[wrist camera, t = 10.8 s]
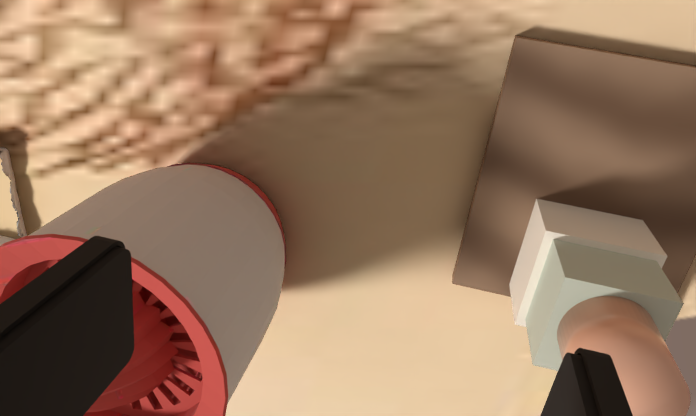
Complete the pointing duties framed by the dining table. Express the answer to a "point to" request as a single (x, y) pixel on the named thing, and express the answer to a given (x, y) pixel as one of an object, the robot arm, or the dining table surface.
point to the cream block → (578, 229)
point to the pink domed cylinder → (628, 352)
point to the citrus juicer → (175, 281)
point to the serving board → (584, 153)
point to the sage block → (593, 292)
